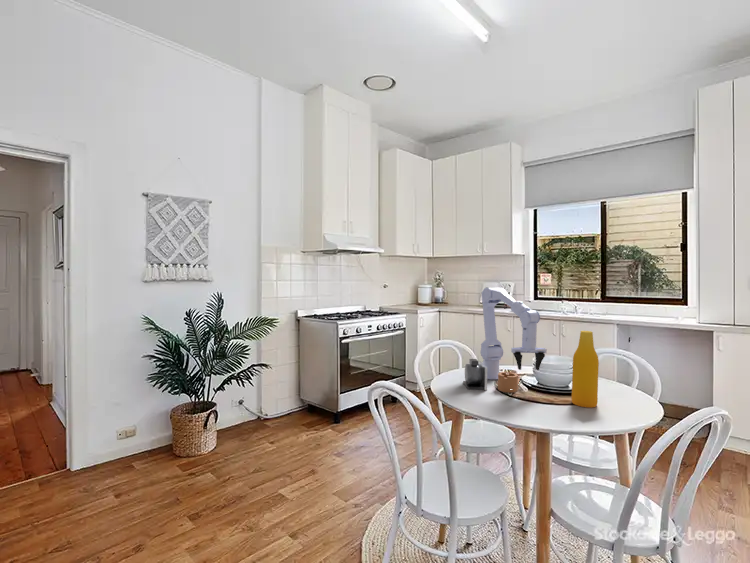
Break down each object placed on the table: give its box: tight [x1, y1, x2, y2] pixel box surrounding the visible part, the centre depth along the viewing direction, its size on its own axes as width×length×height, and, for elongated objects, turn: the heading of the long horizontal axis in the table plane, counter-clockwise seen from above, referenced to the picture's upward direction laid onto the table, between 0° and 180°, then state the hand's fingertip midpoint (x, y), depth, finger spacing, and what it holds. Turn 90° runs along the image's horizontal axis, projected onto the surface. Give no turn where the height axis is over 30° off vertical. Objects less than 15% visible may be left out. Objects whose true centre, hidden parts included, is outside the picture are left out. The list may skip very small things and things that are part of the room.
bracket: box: [497, 371, 521, 393], centre depth 188 cm, size 18×8×7 cm, turn 156°
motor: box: [462, 358, 488, 391], centre depth 188 cm, size 12×8×12 cm, turn 1°
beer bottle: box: [571, 330, 600, 409], centre depth 165 cm, size 9×9×29 cm
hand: (528, 369), depth 181 cm, fingers open, 7 cm apart
